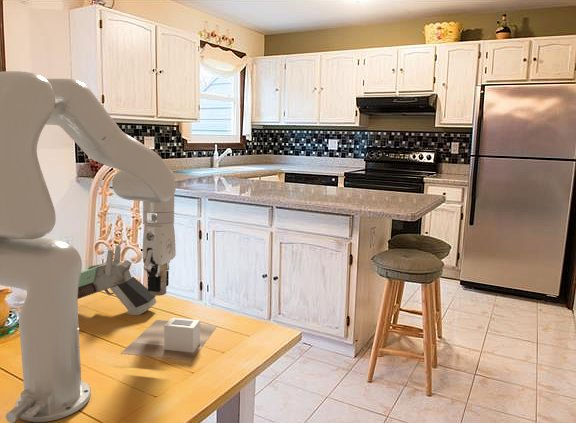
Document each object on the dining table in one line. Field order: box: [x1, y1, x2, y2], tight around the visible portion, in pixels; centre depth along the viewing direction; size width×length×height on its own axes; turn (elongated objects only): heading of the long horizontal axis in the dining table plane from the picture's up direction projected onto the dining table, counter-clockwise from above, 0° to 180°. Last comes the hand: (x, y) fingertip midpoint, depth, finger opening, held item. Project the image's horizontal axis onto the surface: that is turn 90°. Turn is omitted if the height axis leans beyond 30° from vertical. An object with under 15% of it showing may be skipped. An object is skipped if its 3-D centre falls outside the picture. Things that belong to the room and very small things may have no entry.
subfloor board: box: [120, 319, 218, 362], centre depth 109 cm, size 19×17×1 cm
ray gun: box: [78, 245, 158, 316], centre depth 125 cm, size 7×32×20 cm, turn 84°
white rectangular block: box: [164, 317, 201, 352], centre depth 104 cm, size 4×7×6 cm, turn 82°
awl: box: [150, 261, 167, 297], centre depth 113 cm, size 4×4×9 cm
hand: (158, 287), depth 114 cm, fingers closed on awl, 4 cm apart
